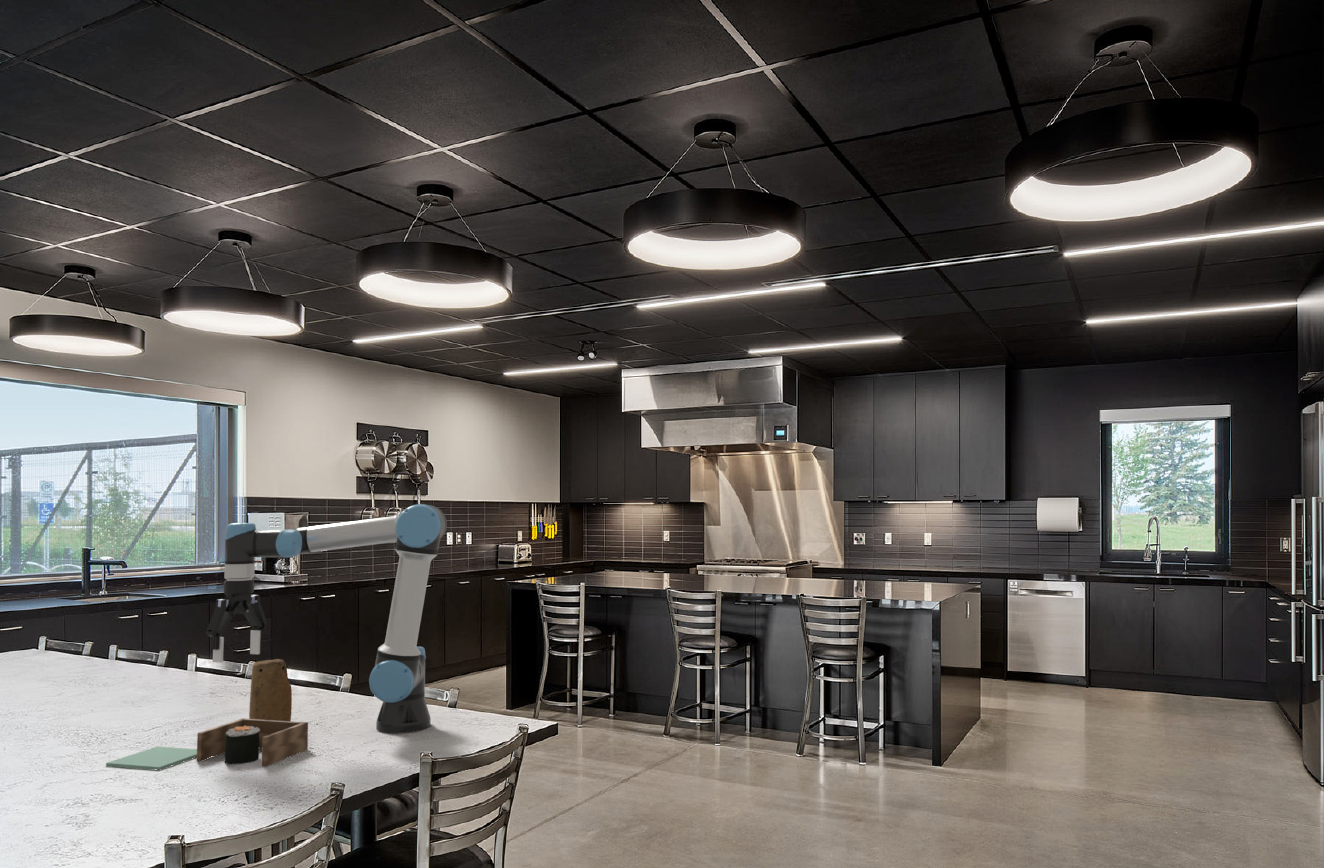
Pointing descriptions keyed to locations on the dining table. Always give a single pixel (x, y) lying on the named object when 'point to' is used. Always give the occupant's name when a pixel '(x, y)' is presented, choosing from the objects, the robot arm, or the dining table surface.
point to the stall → (273, 739)
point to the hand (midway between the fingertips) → (236, 658)
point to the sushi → (242, 745)
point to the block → (270, 691)
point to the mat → (155, 758)
